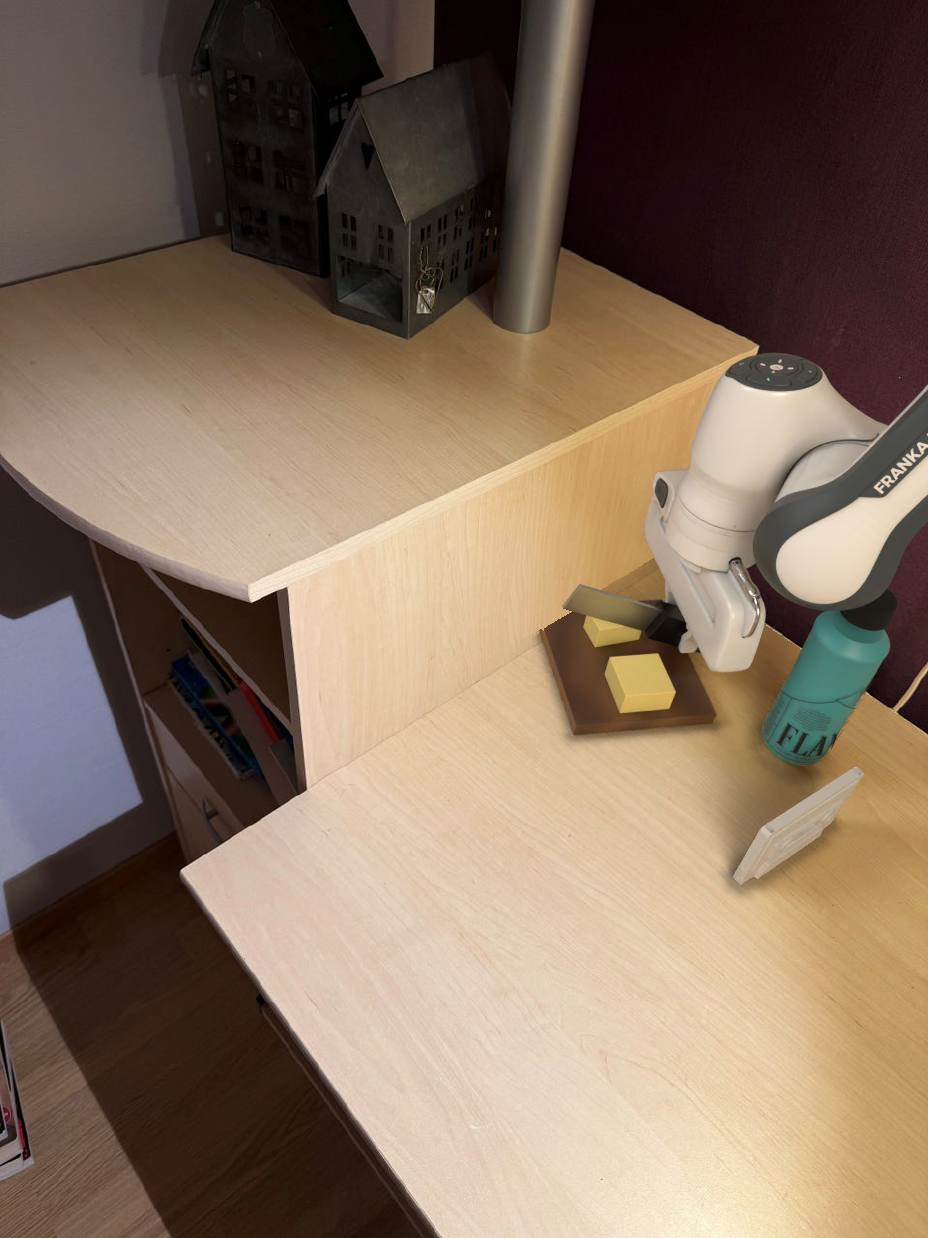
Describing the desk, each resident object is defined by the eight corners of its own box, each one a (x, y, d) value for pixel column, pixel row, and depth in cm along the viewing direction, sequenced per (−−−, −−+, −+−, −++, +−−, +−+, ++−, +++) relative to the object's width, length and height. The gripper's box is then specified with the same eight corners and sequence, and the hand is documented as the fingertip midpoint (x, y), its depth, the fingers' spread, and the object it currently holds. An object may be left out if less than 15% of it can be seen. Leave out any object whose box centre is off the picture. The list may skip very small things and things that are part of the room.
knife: (698, 638, 94) (717, 617, 93) (706, 655, 93) (727, 634, 91) (558, 598, 86) (577, 574, 84) (566, 616, 84) (585, 592, 82)
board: (658, 609, 98) (662, 599, 97) (712, 724, 87) (717, 714, 86) (534, 616, 96) (536, 605, 95) (573, 735, 85) (576, 725, 84)
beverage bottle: (753, 767, 84) (835, 612, 70) (754, 715, 89) (831, 559, 75) (824, 785, 83) (921, 632, 69) (821, 731, 88) (911, 577, 74)
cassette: (742, 891, 75) (773, 841, 69) (726, 874, 76) (755, 822, 70) (836, 827, 80) (871, 776, 75) (819, 812, 81) (853, 760, 76)
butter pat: (626, 619, 95) (631, 602, 93) (639, 639, 93) (644, 622, 91) (582, 627, 93) (587, 609, 91) (594, 647, 91) (599, 630, 89)
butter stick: (652, 670, 90) (658, 653, 88) (669, 709, 86) (676, 691, 84) (604, 674, 89) (609, 656, 87) (619, 713, 85) (625, 696, 83)
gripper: (799, 603, 75) (747, 711, 85) (709, 460, 89) (673, 566, 99) (729, 607, 74) (684, 716, 83) (649, 462, 88) (618, 569, 98)
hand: (678, 634), depth 91 cm, fingers closed on knife, 2 cm apart
